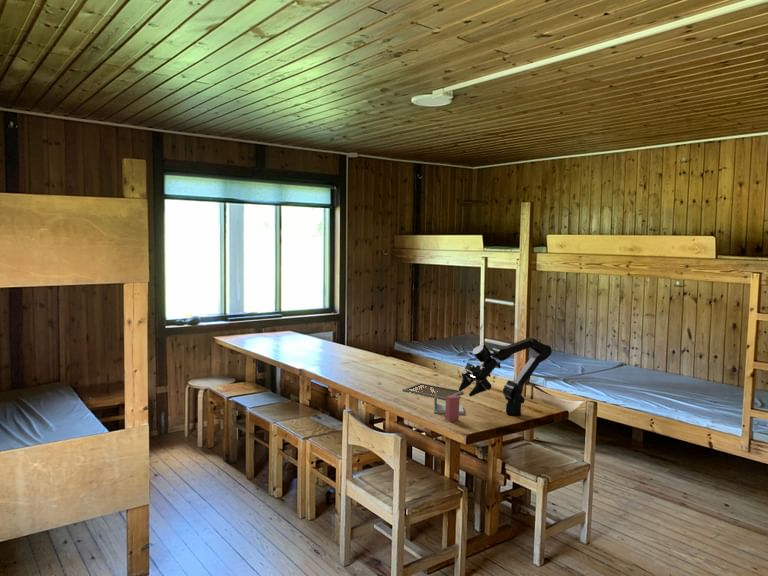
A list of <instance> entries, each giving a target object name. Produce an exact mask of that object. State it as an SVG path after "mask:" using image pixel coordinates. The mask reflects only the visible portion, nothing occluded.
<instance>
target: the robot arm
mask: <svg viewBox="0 0 768 576" xmlns="http://www.w3.org/2000/svg"><path fill="white" fill-rule="evenodd" d="M527 349H532V350H531V356H530V358H529V359H528V361H527V362H526V364H525V365H524V366H523V368H522V369H521V370H520V372H519V373H518V374H517V376H516V377H515V379H513V380H507V381H506V383H505V385H504V386H503V389H502V394H503V396H504V399H505V400H507V402H506V403H505V413H506V414H507V416H515V417H516V416H517V417H521V416H522V404H524V403H525V401H526V398H525V397H524V396H523V395H522V394H523V390H524V386H525V384H526V383H527V381H528V380H529V379H530V377H531V376H532V374H534V372H535V371H536V369H537V368H538V366H540V365H539V364H541V363H543V361H546V360H547V359H549V357H550V356H552V353H553V351H552V347H551V346H550V345H548V344H545V343H543V342H540V341H539V340H537V339H536V338H534V337H529V336H528V337H526V338H524V339H521V340H519V341H516V342H514V343H511V344H508V345H499V346H498V345H496V346H494V347H492V349H491V348H490V349H489V348H488V347H487V345H486V344H484V343H481V345H477V346H476V347H474V348H473V350H472V354H473V355H474V356H475V358H476V359H477V360H478V361H479V362H480V363H481V364H480V365H479V364H477V363H476V364H472V363H470V362H467V363H466V365H465V367H464V369H463V370H462V371H461V372H460V373H461V377H462V380H461V383H460V385H459V387H458V390H459V391H464V390H465V389H467V388H468V387H470V386H471V385H472V384H473V383H474V382H475V385H474V387H473V388H472V389H471V391H470V392H469V393H468V396H469V397H473V396H475V395H478V394H480V393H483V392H486V391H490V390H491V389H492V384H491V382H489V380H488V379H487V378H488V377H491V376H492V375H491V373H492V372H493V371H494V370H495V369H496V368H497V369H501V362H504V361H506V360H508V359H509V358H510V357H511V356H512V355H513V354H516V353H519V352H522V351H525V350H527ZM497 360H498V361H497ZM500 361H501V362H500Z"/></svg>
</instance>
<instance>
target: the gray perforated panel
mask: <svg viewBox="0 0 768 576" xmlns="http://www.w3.org/2000/svg"><path fill="white" fill-rule="evenodd" d="M420 385H424V388H423V387H422V390H421V388H420V390H419V387H418V386H420ZM425 386H427V387H426V388H425ZM415 387H418V390H417V392H416V391H411V390H409V389H413V388H415ZM430 387H433V388H434V391H438V392H437V398H438V399H439V400H443V401H446V396H451V395H456V396H458V397H460V398H461V395H464V390H462V391H459V389H453V388H448V387H443V386H439V385H435V384H434V385H433V384H428V383H423V382H418V383H415V384H413V385H411V386H407V387H405V388H402V392H404V391H405V393H409V392H411V393H410V394H413V393H415V395H418V394H420V395H419V396H423V395H424V396H423V397H428V398H432V397H433V398H434V399H435V393H434V392H433V393H432V392H431V390H430ZM433 388H432V389H433ZM414 390H415V389H414ZM418 391H419V392H418ZM422 391H423V392H422ZM431 394H432V395H431ZM460 394H461V395H460ZM433 398H432V399H433ZM438 399H437V400H438Z"/></svg>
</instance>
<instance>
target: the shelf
mask: <svg viewBox="0 0 768 576" xmlns="http://www.w3.org/2000/svg"><path fill="white" fill-rule="evenodd" d="M437 401H438V399H437V391H435V398H434V402H433V413H434V414H445V410H446V402H445V403H443V402H441V403H440V402H437ZM463 407H464V406H463V404H460V403H459V415H460V414H464V415H465V411H464V408H463Z"/></svg>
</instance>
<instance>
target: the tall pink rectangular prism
mask: <svg viewBox="0 0 768 576" xmlns="http://www.w3.org/2000/svg"><path fill="white" fill-rule="evenodd" d="M460 399H461V396H460V397H458V396H456V395H451V396H446V400H445V404H446V410H445V415H444V420H445V421H447V422H459V419H460V418H459V417H460V414H459V404H460V401H461V400H460Z"/></svg>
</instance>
